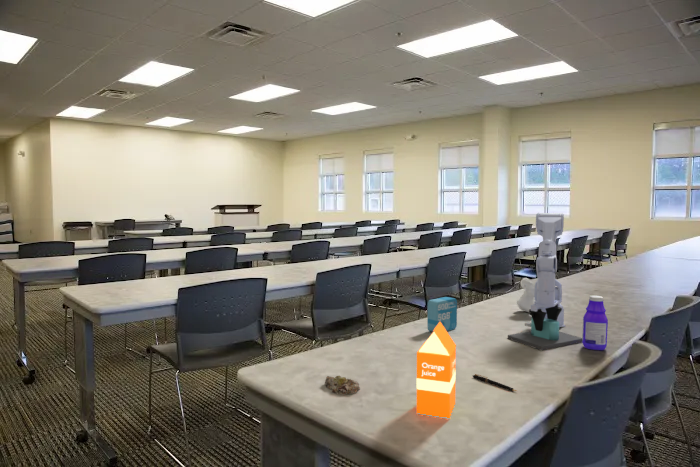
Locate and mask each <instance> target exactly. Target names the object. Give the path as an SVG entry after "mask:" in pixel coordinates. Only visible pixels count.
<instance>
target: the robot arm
mask: <svg viewBox="0 0 700 467" xmlns="http://www.w3.org/2000/svg"><path fill="white" fill-rule="evenodd" d="M564 215H565V214H564V213H563V212H560V213H558V212H551V213H550V212H549V213H547V212H546V213H545V212H541V213H540V212H537V213H536V215H535V228H536V232H537V235H539V236H541V237H542V241H540V242H539V244H538V246H539V247H538V254H537V255H538V257H536V260H535V261H536V262H535V263H536V266H535V269H536V277H537V278H538V279H537V281H536V283H535V291H534V299H535V301H534V304H533V305H531V309H529V314H530V316H531V317H532V318H533V321H534V325H535V329H536V330H537V331H542V329H543V322H544V318H546V319H551V320H555V321H559V328H563V327H564V328H565V327H566V324H564V322H565V320H564V319H565V309H564V306H563V305H562V304H561V303H562V302H563V284H562V282H561V281H560V280H558V279H557V278H556V273H557V270H558V259H557V244H556V241H557V239H558V237H559V236H562V235H563V232H564V223H565V222H564V221H565V220H564V219H565V216H564Z"/></svg>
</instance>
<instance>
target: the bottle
mask: <svg viewBox="0 0 700 467" xmlns="http://www.w3.org/2000/svg"><path fill="white" fill-rule="evenodd" d="M588 298H589V299H588V304H587V306H586V308H585V310H586V312H585V313H584V315H583V317H582V335H581V336H582V337H581V338H582V342H581V343H582V345H583V347H584V348H585V349H588V350H594V351H604V350H605V349H606V348H607V345H608V324H609V322H608V317H607V315H606V311H607V309H606V308H605V305H604V297H603V296H601V295H596V294H595V295H594V294H593V295H589V297H588Z"/></svg>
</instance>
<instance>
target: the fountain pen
mask: <svg viewBox="0 0 700 467" xmlns="http://www.w3.org/2000/svg"><path fill="white" fill-rule="evenodd" d="M472 378H474V379H475V380H477V381H480V382H483V383H486V384H488V385H491V386H494V387H498V388H500V389H504V390H506V391H511V392H518V390H516V389H514V388H513V387H511V386H510V385H509V386H508V385H505V384H503V383H500V382H497V381H495V380H491V379H490V378H488V377H487V376H484V375H481V374H477V373H474V374H473V375H472Z"/></svg>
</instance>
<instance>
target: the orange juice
mask: <svg viewBox="0 0 700 467" xmlns="http://www.w3.org/2000/svg"><path fill="white" fill-rule="evenodd" d="M433 331H434V332H431V334H430V335H429V337H428V338H427V339H426V341H424V343H423V344H422V345H421V347H420V348H419V349H418V351H416V414H417V413H420V414H426V415H432V416H439V417H447V418H450V419H451V417H450V416H452V414H451V413H453V411H454V409H453V408H455V406H454V405H456V380H457V379H456V376H457V375H456V372H457V371H456V370H457V368H456V362H457V361H456V360H457V359H456V355H457V354H456V353H457V352H456V351H457V350H456V349H457V348H456V347H457V344H456V343H455V342H454V340H453V338H452V337H451V335H450V334H449V331H446V329H445V328H444V326H443V325H442V323H441V322H439V323H438V325H437V326H436V327H435V329H434V330H433ZM452 410H453V411H452Z"/></svg>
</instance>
